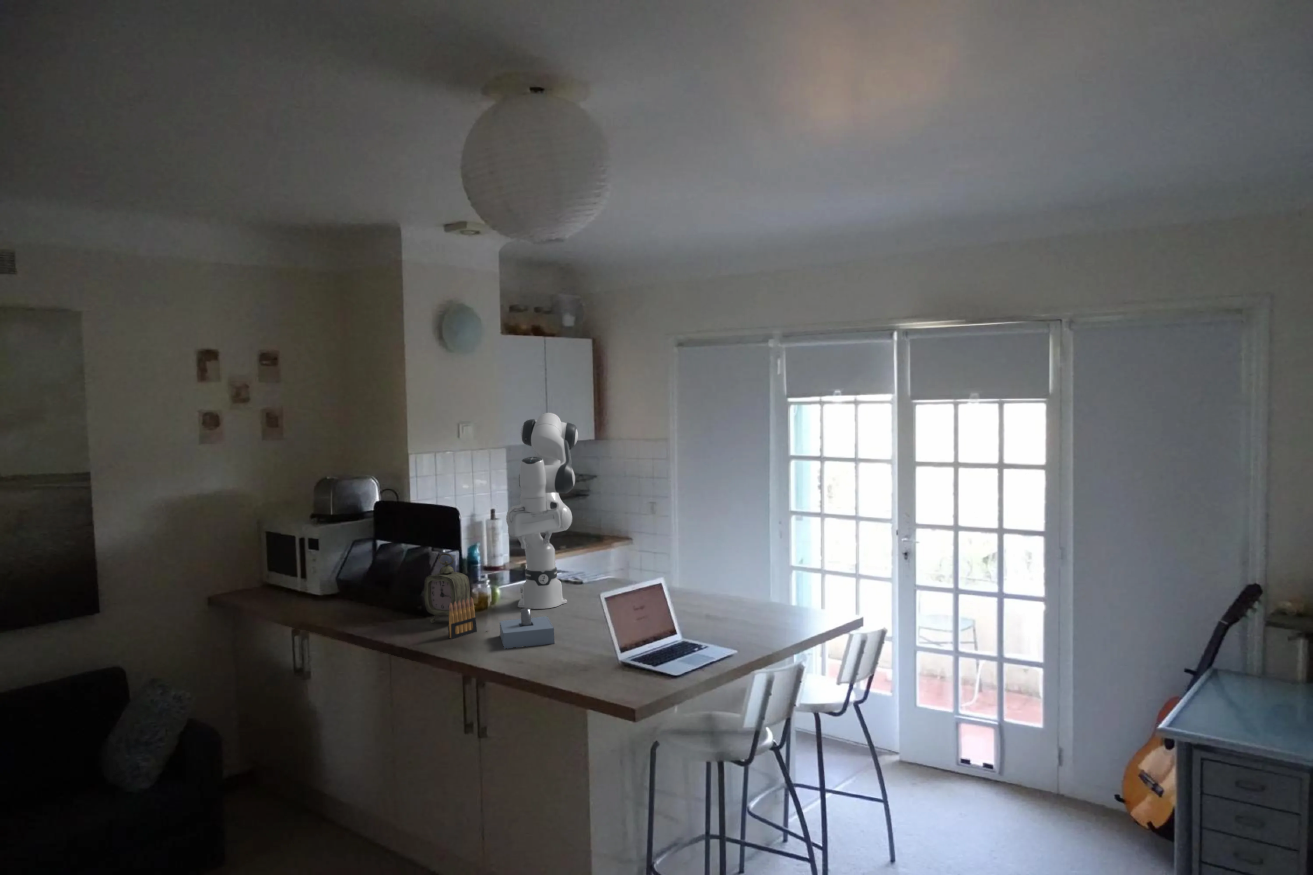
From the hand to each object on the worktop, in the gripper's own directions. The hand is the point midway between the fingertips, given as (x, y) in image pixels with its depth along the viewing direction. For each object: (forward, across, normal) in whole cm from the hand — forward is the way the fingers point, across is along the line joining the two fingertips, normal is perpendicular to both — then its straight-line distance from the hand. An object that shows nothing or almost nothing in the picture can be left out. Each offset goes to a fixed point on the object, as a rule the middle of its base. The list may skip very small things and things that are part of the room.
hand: (535, 546), depth 286 cm
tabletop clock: (+29, -11, +37) cm, 48 cm away
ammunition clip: (+29, -18, +19) cm, 39 cm away
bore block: (+29, -8, -4) cm, 31 cm away
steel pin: (+29, -8, -4) cm, 31 cm away
